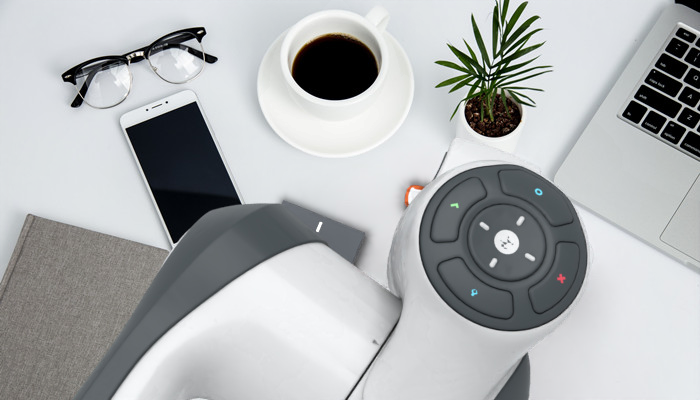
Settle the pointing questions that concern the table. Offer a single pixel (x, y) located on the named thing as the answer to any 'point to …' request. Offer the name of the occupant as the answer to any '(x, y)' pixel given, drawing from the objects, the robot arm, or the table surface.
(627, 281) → the table surface
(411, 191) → the toy car
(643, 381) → the table surface
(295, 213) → the control panel
